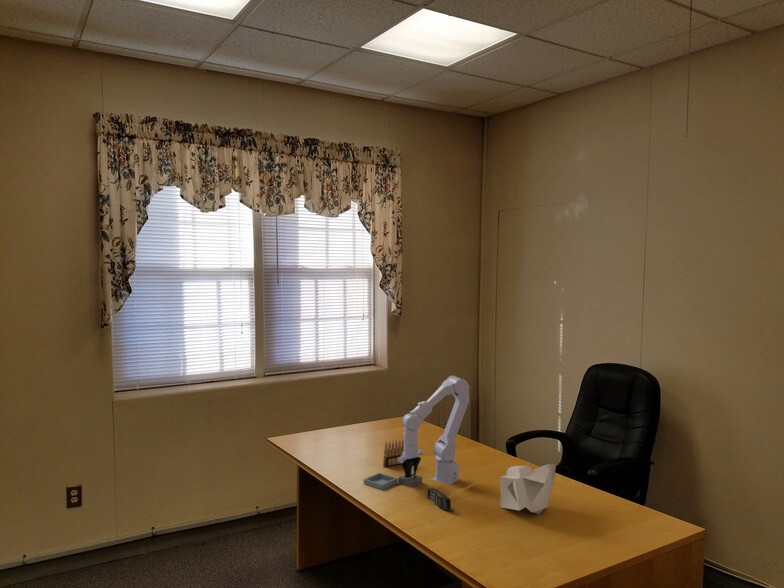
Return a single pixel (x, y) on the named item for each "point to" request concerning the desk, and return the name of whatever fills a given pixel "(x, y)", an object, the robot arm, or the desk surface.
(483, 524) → the desk surface
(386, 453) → the ammunition clip
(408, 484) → the grey square holder
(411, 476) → the fuse
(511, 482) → the folded paper
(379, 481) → the parts tray
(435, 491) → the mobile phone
